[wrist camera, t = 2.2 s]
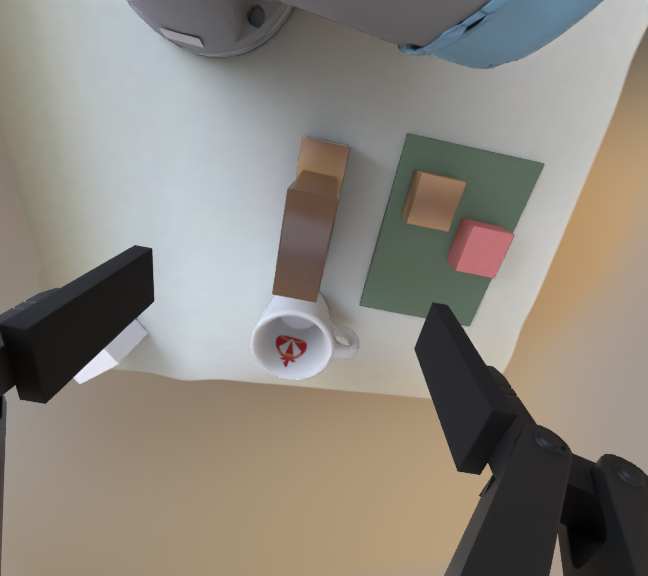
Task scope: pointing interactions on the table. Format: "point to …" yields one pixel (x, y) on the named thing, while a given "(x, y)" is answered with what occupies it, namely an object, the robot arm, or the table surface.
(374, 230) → the table surface
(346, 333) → the cup
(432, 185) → the cork block
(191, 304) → the table surface
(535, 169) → the desk mat
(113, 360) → the white cube
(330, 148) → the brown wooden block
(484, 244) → the eraser block
